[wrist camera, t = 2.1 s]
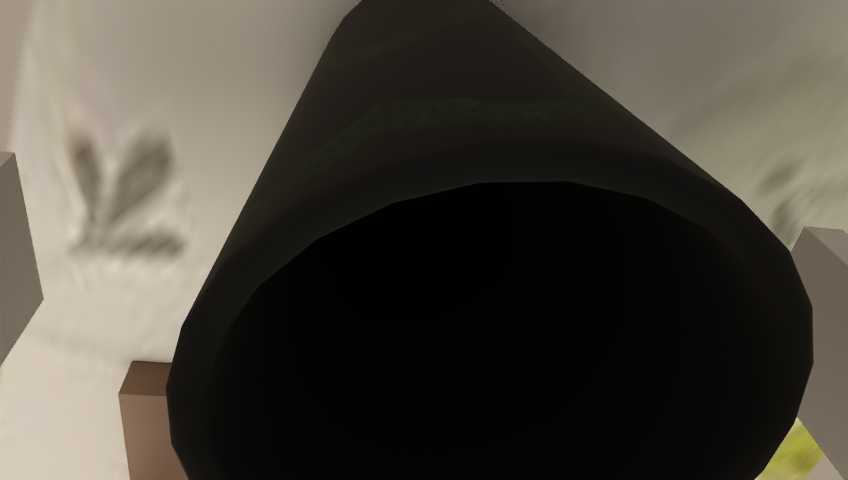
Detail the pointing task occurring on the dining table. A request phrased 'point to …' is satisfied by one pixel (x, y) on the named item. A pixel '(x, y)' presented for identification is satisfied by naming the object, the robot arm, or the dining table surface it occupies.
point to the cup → (484, 282)
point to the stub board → (148, 423)
